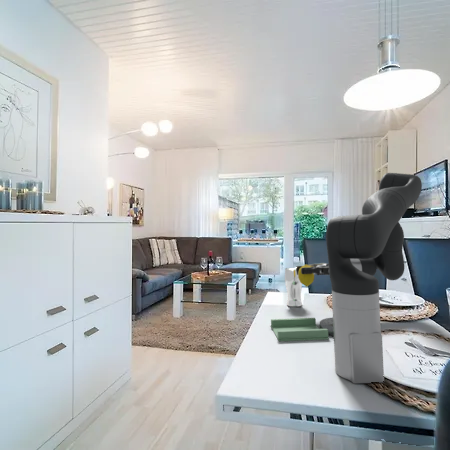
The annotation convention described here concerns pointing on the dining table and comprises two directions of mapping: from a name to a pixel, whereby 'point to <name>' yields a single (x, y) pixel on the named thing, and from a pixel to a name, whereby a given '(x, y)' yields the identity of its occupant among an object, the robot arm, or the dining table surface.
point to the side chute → (298, 329)
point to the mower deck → (327, 325)
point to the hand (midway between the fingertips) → (299, 270)
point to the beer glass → (293, 287)
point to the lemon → (305, 277)
